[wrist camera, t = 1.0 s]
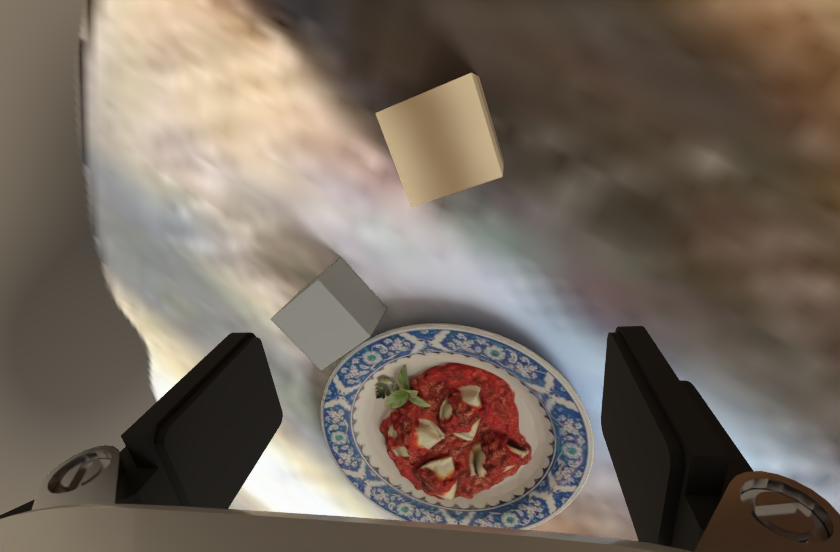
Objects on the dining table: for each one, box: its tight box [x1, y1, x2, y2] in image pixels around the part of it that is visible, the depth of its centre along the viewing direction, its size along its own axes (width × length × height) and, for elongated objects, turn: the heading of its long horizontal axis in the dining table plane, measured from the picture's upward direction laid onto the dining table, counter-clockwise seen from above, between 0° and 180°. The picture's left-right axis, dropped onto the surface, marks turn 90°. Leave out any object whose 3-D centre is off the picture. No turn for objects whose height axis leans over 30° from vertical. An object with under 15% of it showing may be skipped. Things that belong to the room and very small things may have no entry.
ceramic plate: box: [320, 323, 594, 530], centre depth 40 cm, size 26×26×3 cm
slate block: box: [271, 257, 387, 371], centre depth 35 cm, size 6×6×5 cm
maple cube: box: [376, 73, 504, 207], centre depth 28 cm, size 6×6×6 cm
